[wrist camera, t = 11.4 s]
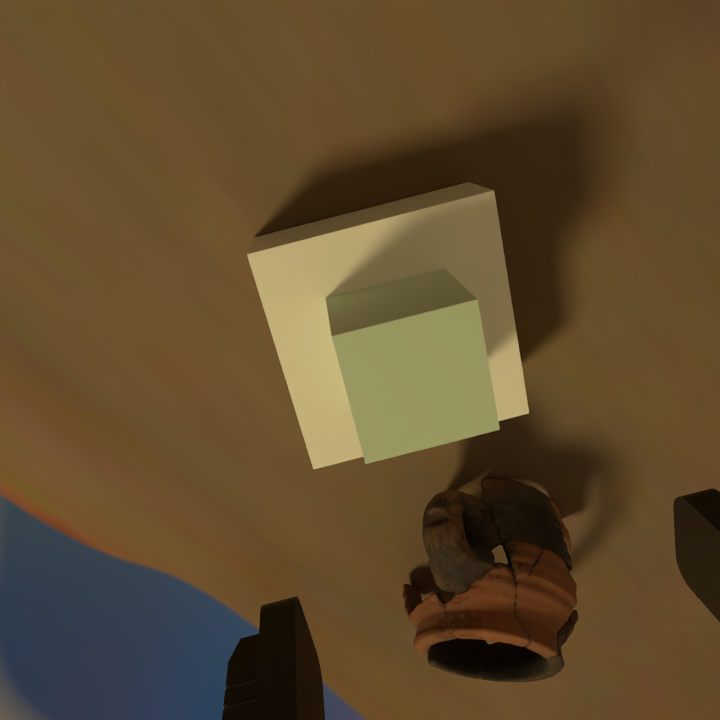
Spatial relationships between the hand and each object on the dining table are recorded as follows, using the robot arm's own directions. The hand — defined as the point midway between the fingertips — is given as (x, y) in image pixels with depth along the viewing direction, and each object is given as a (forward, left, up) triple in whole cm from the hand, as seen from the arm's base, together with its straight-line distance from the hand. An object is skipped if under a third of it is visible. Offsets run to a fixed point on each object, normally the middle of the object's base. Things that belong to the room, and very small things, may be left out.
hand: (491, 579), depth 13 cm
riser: (0, 0, -19) cm, 19 cm away
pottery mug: (+2, -14, -19) cm, 23 cm away
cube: (0, 0, -15) cm, 15 cm away
